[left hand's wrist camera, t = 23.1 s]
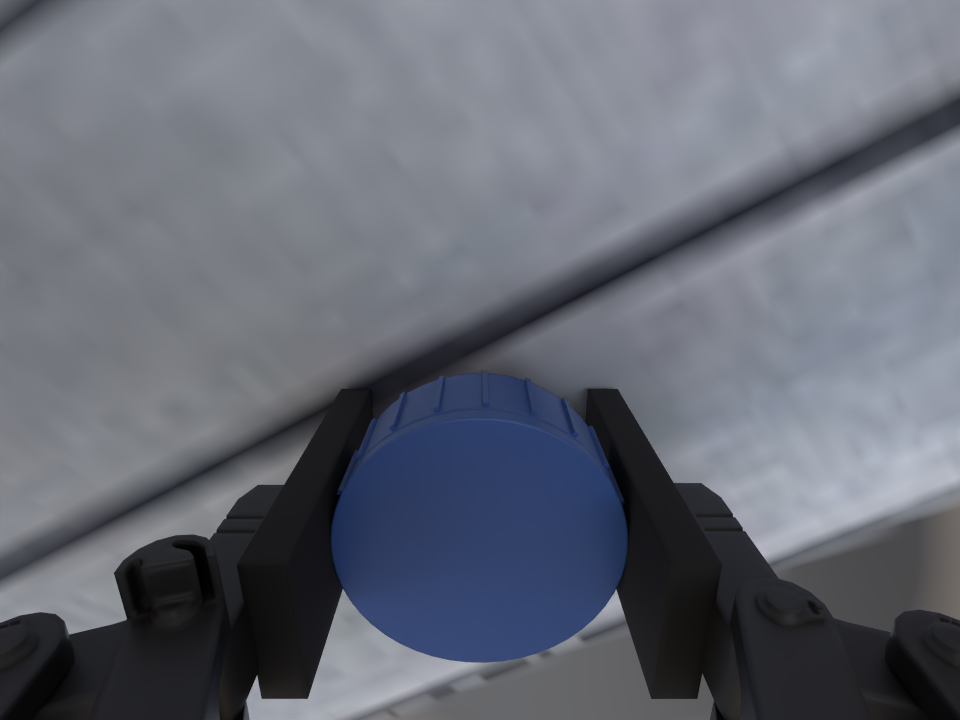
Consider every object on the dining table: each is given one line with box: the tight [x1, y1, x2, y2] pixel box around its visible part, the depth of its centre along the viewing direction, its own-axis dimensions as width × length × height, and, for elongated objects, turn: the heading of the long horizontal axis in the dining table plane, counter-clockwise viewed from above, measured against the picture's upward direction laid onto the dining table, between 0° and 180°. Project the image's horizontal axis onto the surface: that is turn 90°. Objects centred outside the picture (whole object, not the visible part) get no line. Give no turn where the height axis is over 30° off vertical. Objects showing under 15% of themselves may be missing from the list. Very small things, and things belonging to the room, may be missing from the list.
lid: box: [331, 371, 628, 662], centre depth 11 cm, size 6×6×2 cm
